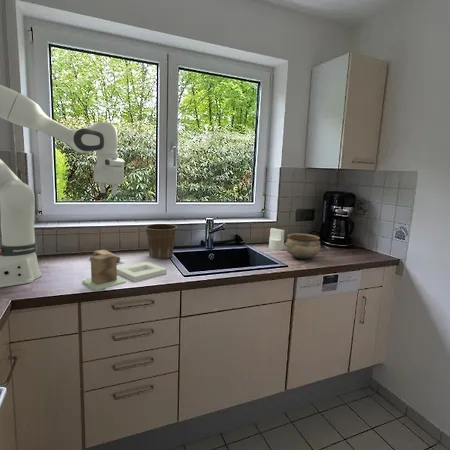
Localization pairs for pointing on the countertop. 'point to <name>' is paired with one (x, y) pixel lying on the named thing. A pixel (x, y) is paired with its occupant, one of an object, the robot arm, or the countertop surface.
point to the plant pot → (161, 240)
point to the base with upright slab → (276, 239)
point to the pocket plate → (141, 271)
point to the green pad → (102, 286)
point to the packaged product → (102, 252)
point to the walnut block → (103, 268)
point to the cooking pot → (302, 245)
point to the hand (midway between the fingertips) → (108, 193)
